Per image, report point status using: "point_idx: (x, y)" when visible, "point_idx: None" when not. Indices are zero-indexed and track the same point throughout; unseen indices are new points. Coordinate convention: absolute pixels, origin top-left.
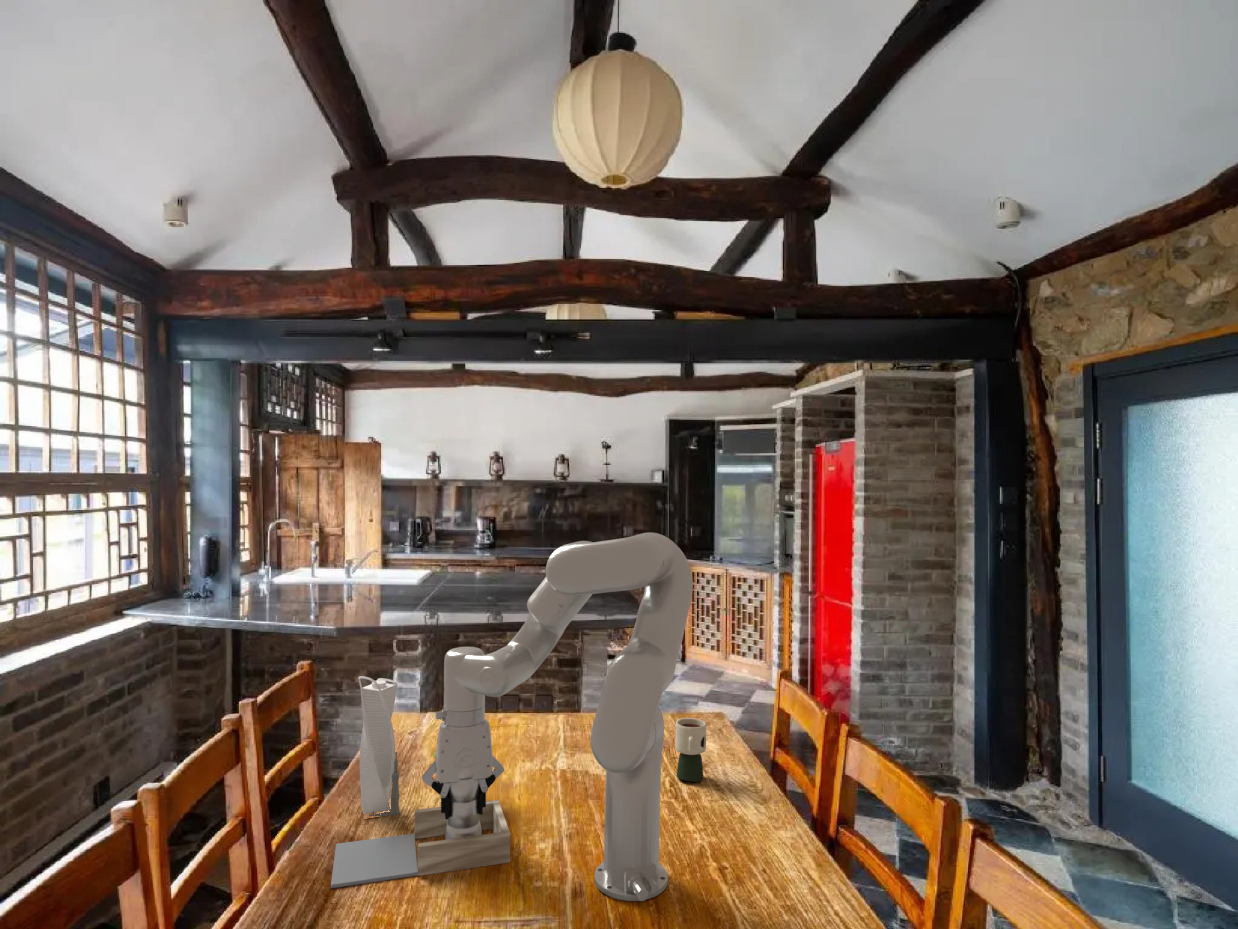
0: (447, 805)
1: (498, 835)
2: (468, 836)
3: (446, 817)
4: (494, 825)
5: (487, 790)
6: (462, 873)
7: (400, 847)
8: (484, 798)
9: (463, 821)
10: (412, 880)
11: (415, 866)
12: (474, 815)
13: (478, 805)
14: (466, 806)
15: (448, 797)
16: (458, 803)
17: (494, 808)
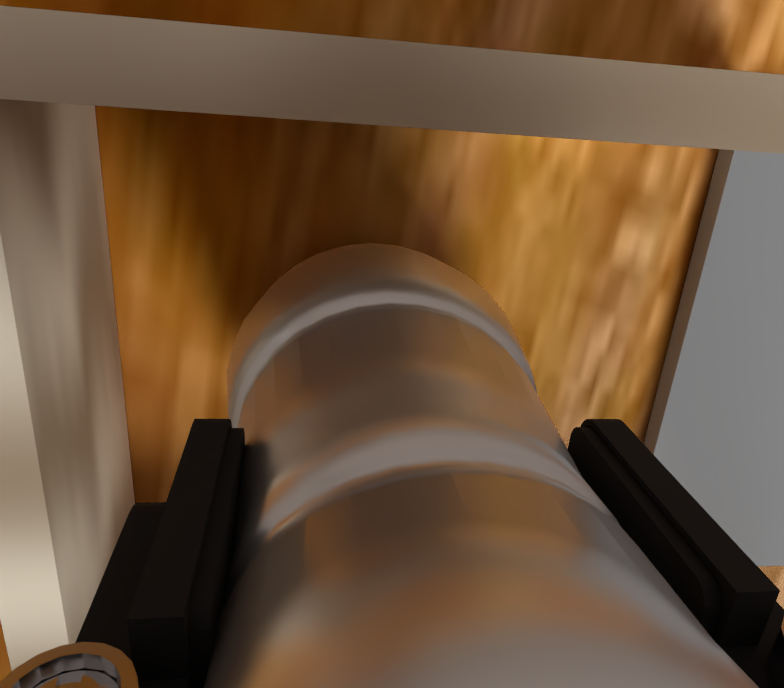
0: (684, 513)
1: (35, 19)
2: (366, 265)
3: (617, 426)
4: (112, 511)
5: (8, 675)
6: (433, 3)
7: (740, 443)
8: (124, 584)
9: (436, 341)
10: (779, 45)
11: (737, 182)
12: (301, 389)
13: (234, 505)
14: (434, 433)
15: (737, 604)
16: (560, 491)
17: (70, 623)
